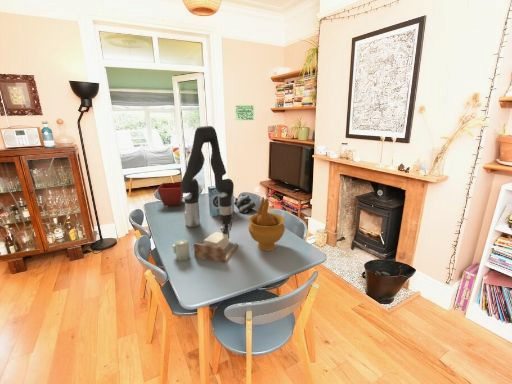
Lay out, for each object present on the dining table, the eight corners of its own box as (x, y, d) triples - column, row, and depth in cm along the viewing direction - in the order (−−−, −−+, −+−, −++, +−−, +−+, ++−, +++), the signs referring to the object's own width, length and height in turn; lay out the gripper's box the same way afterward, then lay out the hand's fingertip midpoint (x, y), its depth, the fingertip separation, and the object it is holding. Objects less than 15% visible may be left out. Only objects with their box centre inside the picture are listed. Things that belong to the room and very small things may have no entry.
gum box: (231, 209, 211) (230, 182, 204) (234, 211, 207) (233, 184, 200) (209, 214, 200) (207, 186, 194) (212, 217, 196) (210, 188, 190)
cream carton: (204, 251, 148) (203, 240, 146) (216, 242, 158) (215, 231, 156) (217, 254, 144) (216, 243, 142) (228, 245, 155) (228, 234, 152)
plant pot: (164, 200, 234) (162, 182, 229) (186, 199, 236) (184, 182, 231) (159, 207, 216) (157, 188, 211) (182, 206, 218) (180, 187, 213)
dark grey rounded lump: (241, 214, 200) (233, 198, 200) (238, 215, 212) (231, 199, 212) (257, 206, 204) (250, 190, 204) (254, 207, 216) (247, 192, 216)
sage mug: (172, 259, 139) (170, 244, 137) (179, 252, 146) (178, 238, 143) (185, 261, 137) (183, 246, 134) (192, 255, 143) (191, 240, 141)
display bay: (194, 257, 141) (193, 244, 139) (211, 241, 158) (210, 229, 156) (224, 262, 136) (224, 249, 133) (238, 245, 153) (237, 233, 151)
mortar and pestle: (290, 251, 146) (291, 201, 137) (254, 257, 140) (253, 205, 132) (276, 235, 165) (277, 191, 157) (244, 240, 160) (243, 194, 151)
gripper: (224, 207, 160) (226, 233, 165) (215, 215, 148) (217, 242, 153) (236, 209, 158) (237, 234, 163) (227, 216, 146) (228, 244, 151)
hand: (227, 238), depth 158 cm, fingers closed
